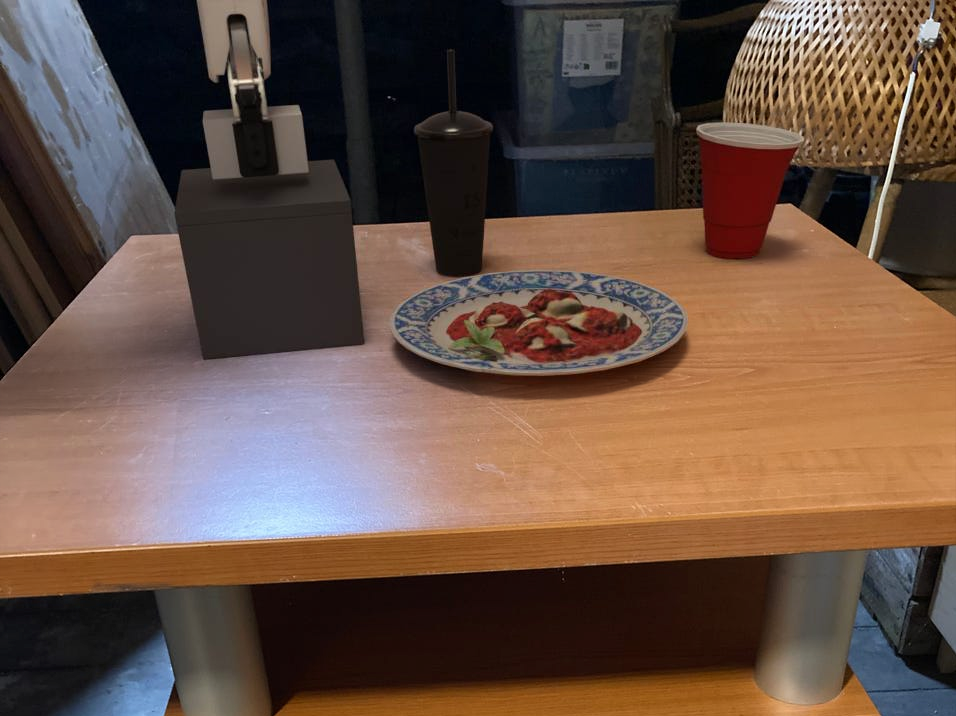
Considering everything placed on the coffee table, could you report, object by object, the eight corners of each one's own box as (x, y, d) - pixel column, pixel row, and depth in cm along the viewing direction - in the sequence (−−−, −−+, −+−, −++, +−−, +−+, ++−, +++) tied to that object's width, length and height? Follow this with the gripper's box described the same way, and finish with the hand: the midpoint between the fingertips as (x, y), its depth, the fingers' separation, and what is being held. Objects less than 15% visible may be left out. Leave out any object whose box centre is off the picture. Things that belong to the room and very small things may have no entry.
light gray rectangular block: (212, 180, 83) (202, 120, 80) (213, 168, 87) (203, 110, 84) (308, 172, 84) (301, 113, 82) (305, 161, 88) (298, 104, 85)
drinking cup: (407, 271, 105) (392, 52, 93) (457, 254, 109) (449, 43, 97) (459, 286, 100) (451, 57, 88) (510, 267, 105) (508, 48, 93)
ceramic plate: (589, 277, 101) (590, 247, 100) (747, 360, 83) (752, 325, 81) (350, 320, 93) (347, 288, 91) (466, 424, 74) (465, 385, 72)
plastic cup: (795, 266, 103) (816, 138, 96) (689, 267, 103) (702, 139, 96) (777, 237, 111) (794, 117, 104) (679, 237, 112) (690, 119, 105)
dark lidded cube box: (203, 359, 86) (174, 213, 79) (206, 301, 99) (181, 169, 91) (364, 344, 88) (350, 199, 81) (347, 288, 101) (334, 159, 93)
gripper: (173, -95, 80) (215, 152, 91) (162, -94, 67) (213, 195, 78) (267, -98, 82) (297, 146, 93) (274, -97, 68) (309, 188, 79)
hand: (258, 166), depth 85 cm, fingers closed on light gray rectangular block, 4 cm apart
